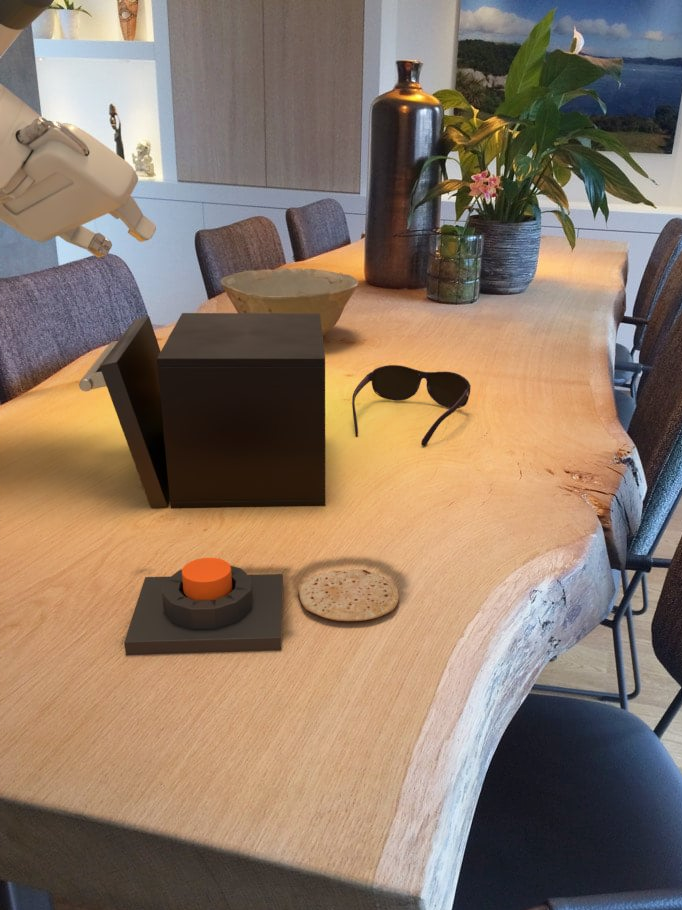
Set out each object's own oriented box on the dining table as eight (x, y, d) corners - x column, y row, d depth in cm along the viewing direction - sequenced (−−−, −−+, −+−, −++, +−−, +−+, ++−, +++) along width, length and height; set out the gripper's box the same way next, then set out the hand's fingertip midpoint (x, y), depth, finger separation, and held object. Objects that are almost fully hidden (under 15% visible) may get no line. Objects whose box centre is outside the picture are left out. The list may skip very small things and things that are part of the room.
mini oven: (170, 509, 80) (156, 358, 74) (191, 441, 96) (181, 312, 90) (325, 507, 81) (325, 358, 75) (320, 440, 98) (320, 313, 91)
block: (125, 656, 59) (121, 620, 57) (146, 589, 67) (142, 557, 66) (281, 651, 60) (280, 616, 58) (283, 586, 68) (282, 554, 67)
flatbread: (399, 577, 69) (400, 567, 69) (397, 629, 62) (398, 617, 62) (302, 573, 69) (302, 563, 69) (290, 624, 63) (289, 613, 62)
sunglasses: (472, 408, 109) (475, 372, 107) (448, 450, 96) (450, 409, 94) (374, 397, 113) (375, 361, 111) (336, 436, 99) (336, 396, 97)
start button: (180, 602, 60) (178, 582, 60) (186, 577, 64) (184, 557, 63) (230, 601, 61) (229, 581, 60) (233, 576, 64) (232, 556, 63)
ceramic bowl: (215, 358, 128) (211, 293, 124) (233, 323, 149) (230, 266, 144) (358, 360, 129) (359, 295, 125) (356, 325, 150) (357, 269, 145)
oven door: (119, 516, 80) (65, 373, 74) (149, 447, 96) (107, 325, 90) (167, 506, 80) (116, 361, 74) (189, 439, 96) (149, 315, 90)
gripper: (62, 83, 68) (194, 196, 76) (-21, 147, 83) (98, 236, 91) (25, 143, 66) (165, 252, 75) (-52, 198, 81) (72, 283, 90)
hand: (127, 243), depth 83 cm, fingers open, 8 cm apart
